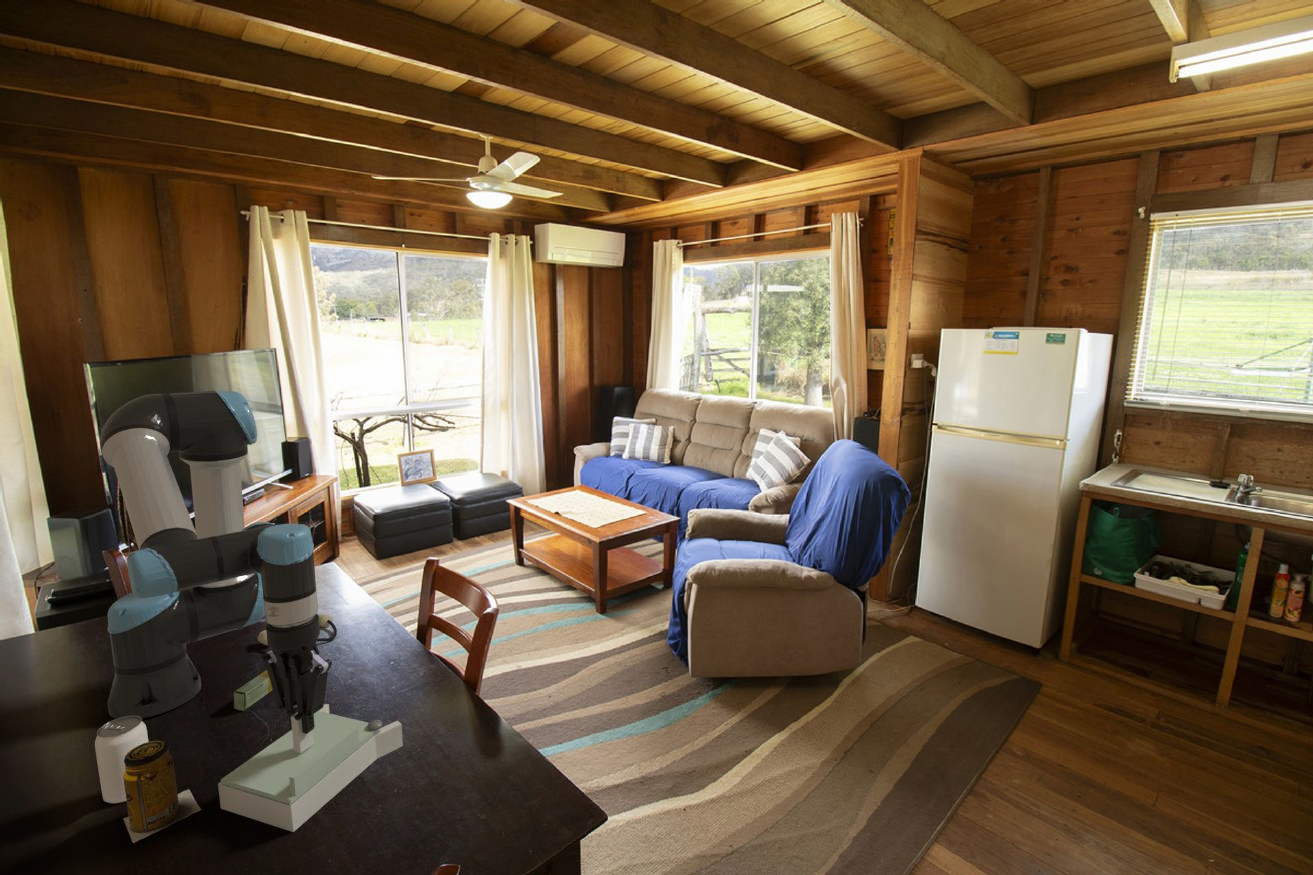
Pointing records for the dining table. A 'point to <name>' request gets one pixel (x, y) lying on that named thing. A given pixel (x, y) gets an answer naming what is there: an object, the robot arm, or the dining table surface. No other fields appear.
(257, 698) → the medication box
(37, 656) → the dining table surface
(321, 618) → the cable
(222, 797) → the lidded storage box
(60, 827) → the dining table surface
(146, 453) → the robot arm
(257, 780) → the cover
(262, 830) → the dining table surface
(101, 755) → the can
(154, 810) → the condiment
